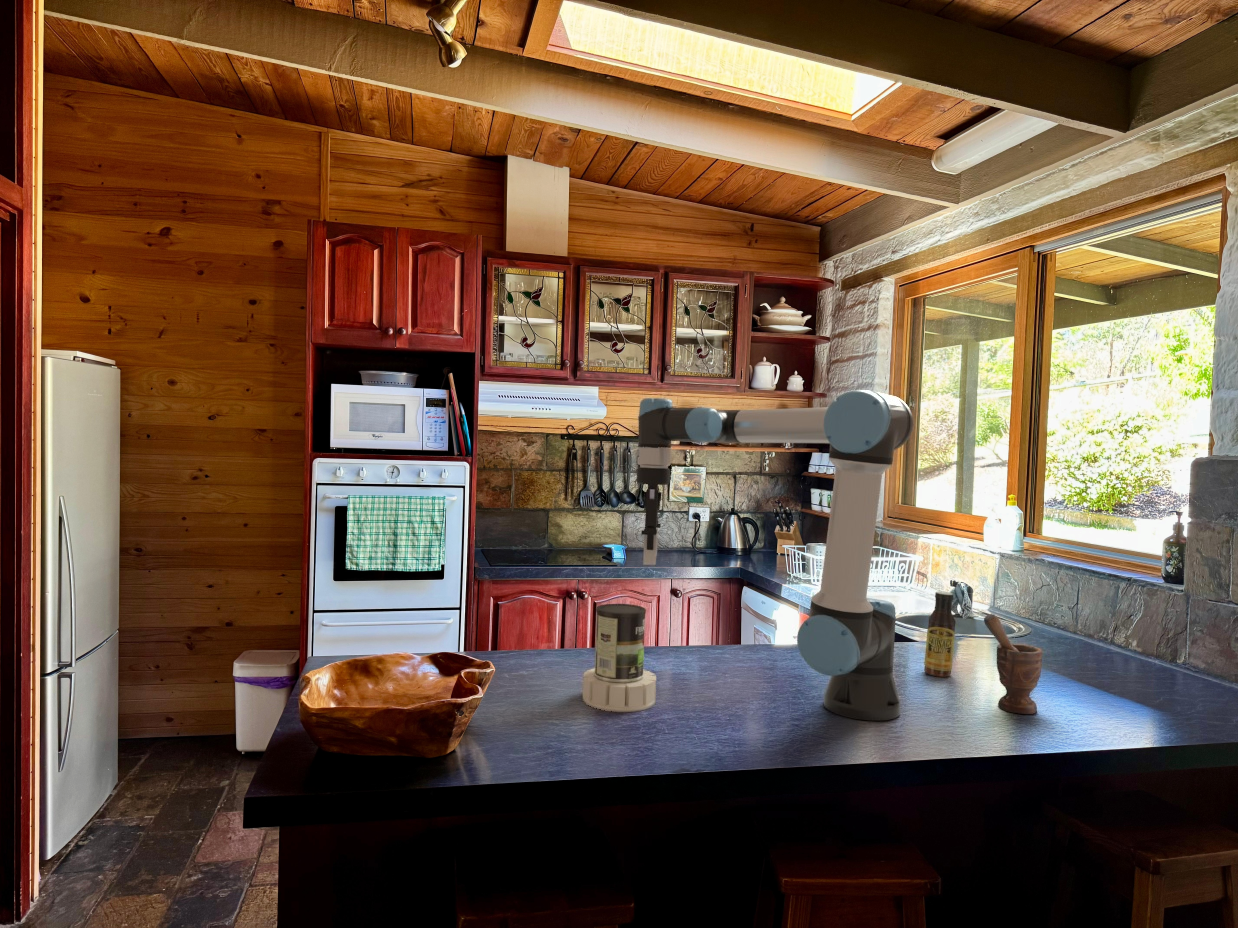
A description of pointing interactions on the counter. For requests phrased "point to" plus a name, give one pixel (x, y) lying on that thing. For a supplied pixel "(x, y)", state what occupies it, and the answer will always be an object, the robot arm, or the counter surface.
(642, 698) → the cream cog ring
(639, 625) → the coffee can
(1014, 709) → the mortar and pestle
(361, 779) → the counter surface
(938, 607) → the sauce bottle
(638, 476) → the robot arm
